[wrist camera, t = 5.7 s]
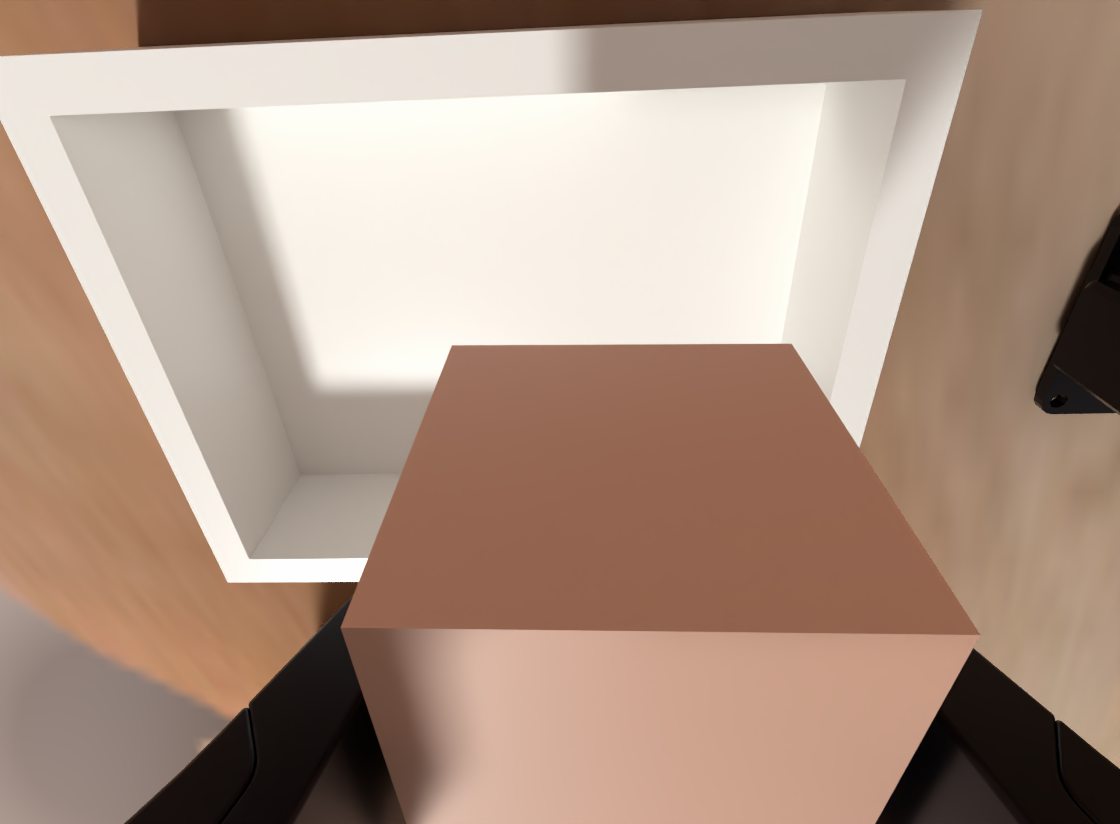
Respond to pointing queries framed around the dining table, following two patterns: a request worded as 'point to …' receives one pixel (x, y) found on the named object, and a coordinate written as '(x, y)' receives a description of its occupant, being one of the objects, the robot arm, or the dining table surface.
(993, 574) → the dining table surface
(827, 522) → the terracotta cube
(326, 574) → the tote
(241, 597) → the dining table surface
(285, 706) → the robot arm
